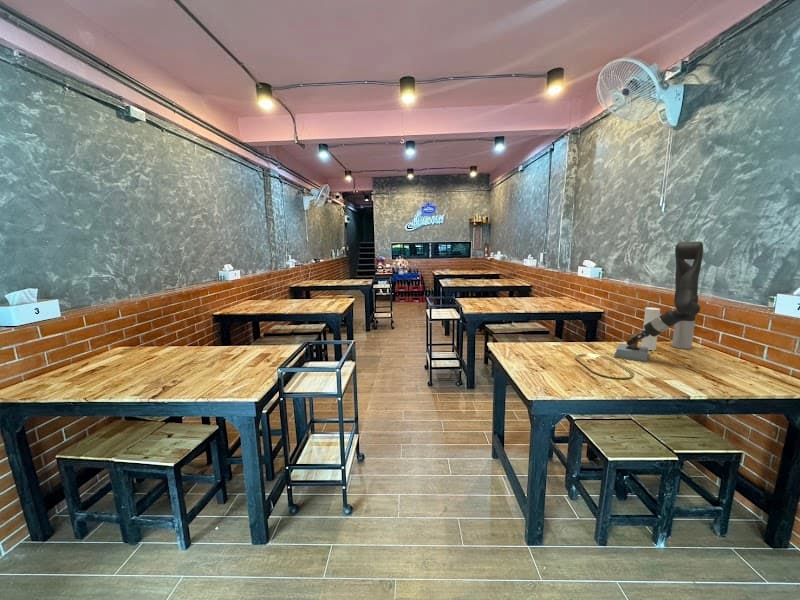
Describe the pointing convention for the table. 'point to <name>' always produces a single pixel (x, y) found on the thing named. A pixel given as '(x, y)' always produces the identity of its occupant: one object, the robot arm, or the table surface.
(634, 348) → the walnut peg
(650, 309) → the tall white block
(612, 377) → the rubber band
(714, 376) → the table surface
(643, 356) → the socket block
